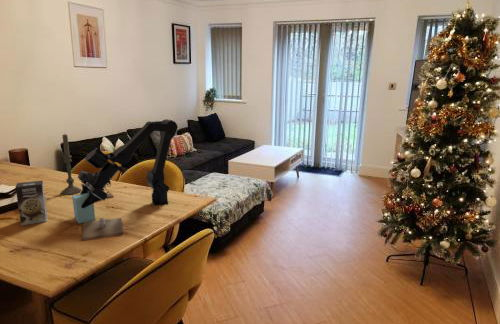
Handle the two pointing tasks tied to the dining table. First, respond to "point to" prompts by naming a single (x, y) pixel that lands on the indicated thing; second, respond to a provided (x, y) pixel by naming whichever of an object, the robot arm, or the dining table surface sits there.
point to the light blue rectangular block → (82, 209)
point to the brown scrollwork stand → (109, 192)
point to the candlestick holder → (70, 180)
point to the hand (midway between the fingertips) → (79, 205)
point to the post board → (102, 228)
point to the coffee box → (31, 202)
